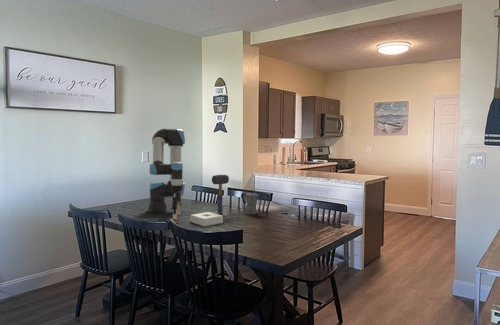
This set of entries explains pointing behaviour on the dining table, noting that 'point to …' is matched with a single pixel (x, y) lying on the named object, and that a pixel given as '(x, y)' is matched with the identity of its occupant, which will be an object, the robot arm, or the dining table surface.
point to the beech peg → (178, 213)
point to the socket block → (206, 219)
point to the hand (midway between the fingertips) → (176, 217)
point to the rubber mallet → (220, 188)
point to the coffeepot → (250, 202)
